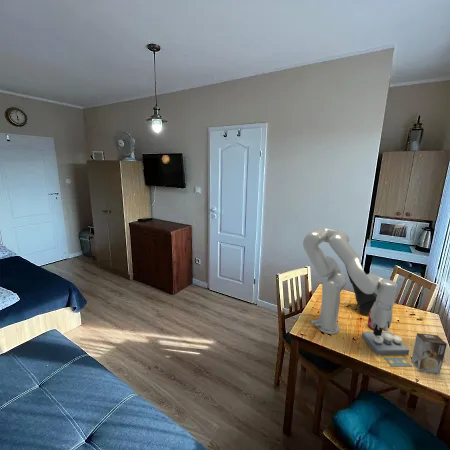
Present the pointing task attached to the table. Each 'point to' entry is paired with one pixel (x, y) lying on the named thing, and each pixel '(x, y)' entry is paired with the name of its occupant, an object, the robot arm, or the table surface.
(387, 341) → the button
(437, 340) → the coffee box
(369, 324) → the soda can
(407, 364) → the card
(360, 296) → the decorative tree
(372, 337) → the board
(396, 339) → the button
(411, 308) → the table surface
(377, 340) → the button
